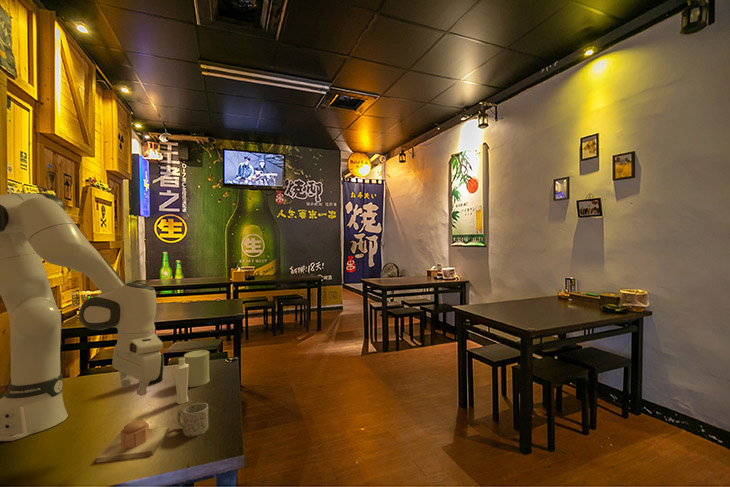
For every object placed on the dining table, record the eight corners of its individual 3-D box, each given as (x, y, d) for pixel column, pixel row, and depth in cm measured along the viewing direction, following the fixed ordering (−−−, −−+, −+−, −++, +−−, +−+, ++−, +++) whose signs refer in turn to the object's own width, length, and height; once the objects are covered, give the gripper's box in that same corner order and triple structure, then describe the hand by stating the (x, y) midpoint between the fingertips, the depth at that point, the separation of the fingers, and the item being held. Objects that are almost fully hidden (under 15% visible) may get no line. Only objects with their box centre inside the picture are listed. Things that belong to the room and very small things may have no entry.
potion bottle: (147, 387, 131) (146, 341, 132) (137, 383, 136) (136, 338, 136) (168, 380, 138) (167, 336, 138) (158, 376, 143) (157, 333, 143)
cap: (128, 436, 95) (128, 420, 95) (151, 433, 96) (151, 418, 96) (117, 449, 89) (116, 432, 89) (142, 446, 90) (142, 429, 90)
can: (214, 380, 137) (214, 350, 137) (192, 389, 129) (192, 357, 129) (201, 376, 142) (200, 347, 142) (179, 384, 134) (178, 353, 134)
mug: (213, 426, 102) (213, 404, 102) (196, 438, 96) (196, 414, 96) (186, 421, 105) (186, 400, 105) (168, 433, 99) (168, 410, 99)
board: (96, 462, 86) (96, 457, 86) (120, 436, 97) (120, 432, 97) (152, 455, 88) (152, 450, 88) (169, 430, 100) (169, 426, 100)
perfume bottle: (183, 404, 116) (183, 361, 116) (172, 403, 117) (172, 360, 117) (193, 398, 121) (192, 356, 121) (182, 397, 122) (181, 356, 122)
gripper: (107, 337, 99) (104, 385, 98) (141, 349, 88) (138, 403, 87) (131, 333, 104) (128, 379, 103) (166, 344, 93) (163, 395, 92)
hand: (133, 390), depth 95 cm, fingers open, 8 cm apart
